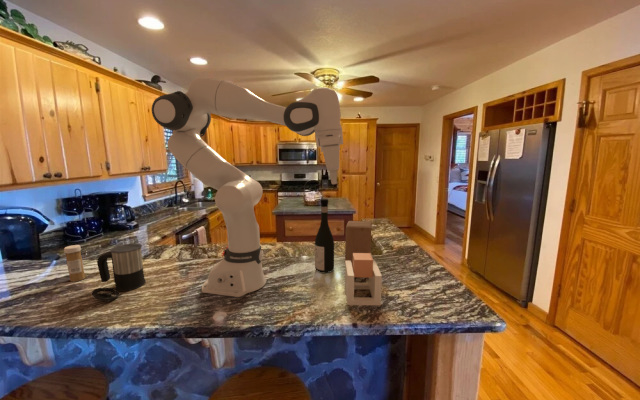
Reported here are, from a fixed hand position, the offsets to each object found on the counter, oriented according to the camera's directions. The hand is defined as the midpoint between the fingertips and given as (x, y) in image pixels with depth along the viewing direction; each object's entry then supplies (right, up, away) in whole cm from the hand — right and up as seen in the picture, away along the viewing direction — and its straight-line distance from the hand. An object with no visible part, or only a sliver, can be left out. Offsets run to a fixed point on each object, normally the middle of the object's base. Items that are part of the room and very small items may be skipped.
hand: (333, 182), depth 87 cm
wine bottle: (-3, -35, +22) cm, 42 cm away
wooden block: (+11, -35, +21) cm, 43 cm away
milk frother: (-75, -39, +5) cm, 85 cm away
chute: (+10, -39, +2) cm, 40 cm away
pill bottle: (-99, -37, +14) cm, 107 cm away
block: (+10, -31, 0) cm, 32 cm away
